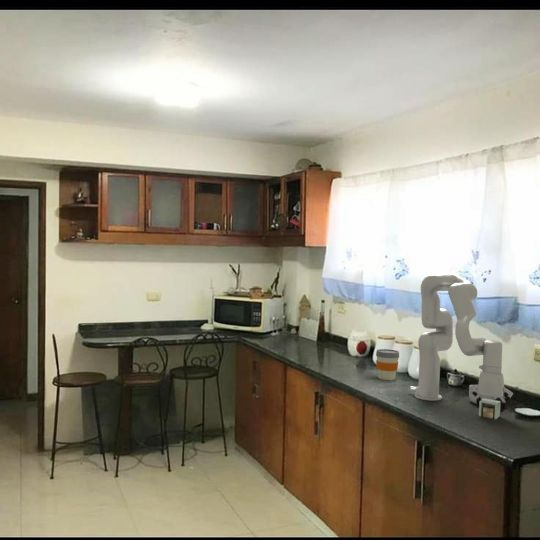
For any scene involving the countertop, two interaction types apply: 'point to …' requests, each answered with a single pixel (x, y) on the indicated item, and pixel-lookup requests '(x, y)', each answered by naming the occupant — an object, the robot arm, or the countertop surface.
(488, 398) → the teacup
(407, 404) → the countertop surface
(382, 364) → the reusable coffee cup
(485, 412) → the lettered cube
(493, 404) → the toy fireplace
